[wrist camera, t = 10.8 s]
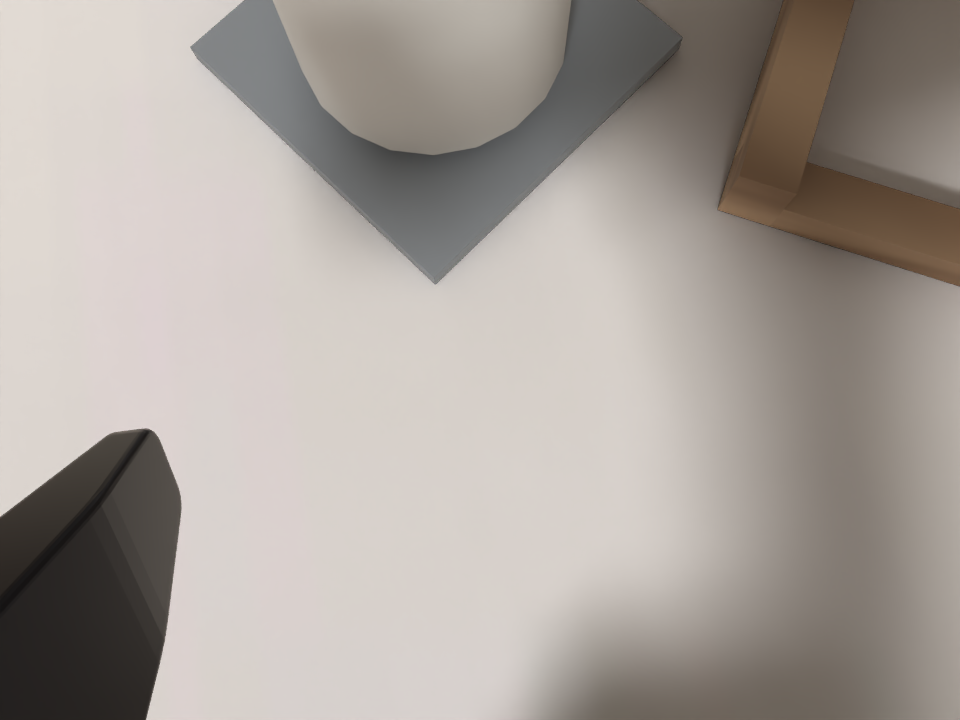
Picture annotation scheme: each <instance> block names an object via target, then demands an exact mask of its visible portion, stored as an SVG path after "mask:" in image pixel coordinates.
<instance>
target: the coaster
mask: <svg viewBox="0 0 960 720" xmlns="http://www.w3.org/2000/svg"><path fill="white" fill-rule="evenodd" d="M682 38H683V37H682V36H680V35H679V34H678V33H677V32H676V31H674V30H673V29H672V28H671V27H669V26H668V25H667V24H666V23H665V22H663V21H662V20H661V19H660V18H659V17H657V16H656V15H655V14H654V13H652V12H651V11H650V10H649V9H648V8H646V7H645V6H644V5H643V4H641V3H640V2H639V1H638V0H571V7H570V14H569V22H568V30H567V38H566V46H565V54H564V61H563V65H562V67H561V69H560V70H559V72H558V74H557V76H556V78H555V80H554V82H553V84H552V86H551V88H550V90H549V92H548V94H547V96H546V98H545V99H544V100H543V101H542V102H541V103H540V104H539V105H538V106H537V107H536V108H535V109H534V110H533V111H532V112H531V113H530V114H529V115H528V116H527V117H526V118H525V119H524V120H523V121H522V122H521V123H520V124H519V125H518V126H517V127H516V128H514V129H512V130H510V131H508V132H506V133H504V134H502V135H500V136H498V137H496V138H494V139H492V140H490V141H488V142H486V143H484V144H482V145H481V146H479V147H476V148H471V149H465V150H459V151H454V152H448V153H443V154H437V155H428V154H419V153H411V152H402V151H393V150H389V149H386V148H384V147H382V146H380V145H377V144H375V143H373V142H370V141H368V140H366V139H364V138H361V137H359V136H357V135H355V134H352V133H351V132H350V131H348V130H347V129H346V128H345V127H344V126H343V125H342V124H341V123H340V122H338V121H337V120H336V119H335V118H334V117H333V116H332V115H331V114H330V113H328V112H327V111H326V110H325V109H324V108H323V107H322V106H321V105H320V103H319V101H318V99H317V97H316V96H315V94H314V92H313V90H312V88H311V86H310V85H309V83H308V81H307V79H306V77H305V75H304V74H303V72H302V69H301V67H300V65H299V62H298V60H297V57H296V55H295V53H294V50H293V48H292V46H291V43H290V41H289V38H288V36H287V34H286V31H285V29H284V26H283V24H282V22H281V19H280V17H279V14H278V12H277V10H276V7H275V5H274V3H273V0H244V1H243V2H242V3H241V4H240V5H238V6H237V7H236V8H235V9H234V10H233V11H231V12H230V13H229V14H228V15H227V16H226V17H225V18H223V19H222V20H221V21H220V22H219V23H218V24H216V25H215V26H214V27H213V28H212V29H211V30H209V31H208V32H207V33H206V34H205V35H204V36H203V37H201V38H200V39H199V40H198V41H197V42H196V43H194V44H193V45H192V46H191V47H190V48H191V49H192V51H193V53H194V54H195V56H196V57H197V59H198V60H199V61H200V62H201V63H202V64H203V65H204V66H205V67H207V68H208V69H209V70H210V71H211V72H212V73H213V74H214V75H215V76H216V77H217V78H218V79H219V80H220V81H221V82H222V83H223V84H224V85H225V86H227V87H228V88H229V89H230V90H231V91H232V92H233V93H234V94H235V95H236V96H237V97H238V98H239V99H240V100H241V101H242V102H243V103H244V104H245V105H247V106H248V107H249V108H250V109H251V110H252V111H253V112H254V113H255V114H256V115H257V116H258V117H259V118H260V119H261V120H262V121H263V122H264V123H266V124H267V125H268V126H269V127H270V128H271V129H272V130H273V131H274V132H275V133H276V134H277V135H278V136H279V137H280V138H281V139H282V140H283V141H284V142H286V143H287V144H288V145H289V146H290V147H291V148H292V149H293V150H294V151H295V152H296V153H297V154H298V155H299V156H300V157H301V158H302V159H303V160H305V161H306V162H307V163H308V164H309V165H310V166H311V167H312V168H313V169H314V170H315V171H316V172H317V173H318V174H319V175H320V176H321V177H322V178H323V179H325V180H326V181H327V182H328V183H329V184H330V185H331V186H332V187H333V188H334V189H335V190H336V191H337V192H338V193H339V194H340V195H341V196H342V197H344V198H345V199H346V200H347V201H348V202H349V203H350V204H351V205H352V206H353V207H354V208H355V209H356V210H357V211H358V212H359V213H360V214H361V215H362V216H364V217H365V218H366V219H367V220H368V221H369V222H370V223H371V224H372V225H373V226H374V227H375V228H376V229H377V230H378V231H379V232H380V233H381V234H383V235H384V236H385V237H386V238H387V239H388V240H389V241H390V242H391V243H392V244H393V245H394V246H395V247H396V248H397V249H398V250H399V251H400V252H401V253H403V254H404V255H405V256H406V257H407V258H408V259H409V260H410V261H411V262H412V263H413V264H414V265H415V266H416V267H417V268H418V269H419V270H420V271H422V272H423V273H424V274H425V275H426V276H427V277H428V278H429V279H430V280H431V281H432V282H433V283H434V284H435V285H436V284H437V283H438V282H439V281H440V280H441V279H442V278H443V277H444V276H445V275H446V274H447V273H448V272H449V271H450V270H451V269H452V268H453V267H454V266H455V265H456V264H457V263H458V262H459V261H460V260H461V259H463V258H464V257H465V256H466V255H467V254H468V253H469V252H470V251H471V250H472V249H473V248H474V247H475V246H476V245H477V244H478V243H479V242H480V241H481V240H482V239H483V238H484V237H485V236H486V235H487V234H488V233H489V232H490V231H491V230H492V229H494V228H495V227H496V226H497V225H498V224H499V223H500V222H501V221H502V220H503V219H504V218H505V217H506V216H507V215H508V214H509V213H510V212H511V211H512V210H513V209H514V208H515V207H516V206H517V205H518V204H519V203H520V202H521V201H522V200H523V199H525V198H526V197H527V196H528V195H529V194H530V193H531V192H532V191H533V190H534V189H535V188H536V187H537V186H538V185H539V184H540V183H541V182H542V181H543V180H544V179H545V178H546V177H547V176H548V175H549V174H550V173H551V172H552V171H553V170H554V169H556V168H557V167H558V166H559V165H560V164H561V163H562V162H563V161H564V160H565V159H566V158H567V157H568V156H569V155H570V154H571V153H572V152H573V151H574V150H575V149H576V148H577V147H578V146H579V145H580V144H581V143H582V142H583V141H584V140H585V139H587V138H588V137H589V136H590V135H591V134H592V133H593V132H594V131H595V130H596V129H597V128H598V127H599V126H600V125H601V124H602V123H603V122H604V121H605V120H606V119H607V118H608V117H609V116H610V115H611V114H612V113H613V112H614V111H615V110H616V109H618V108H619V107H620V106H621V105H622V104H623V103H624V102H625V101H626V100H627V99H628V98H629V97H630V96H631V95H632V94H633V93H634V92H635V91H636V90H637V89H638V88H639V87H640V86H641V85H642V84H643V83H644V82H645V81H646V80H647V79H649V78H650V77H651V76H652V75H653V74H654V73H655V72H656V71H657V70H658V69H659V68H660V67H661V66H662V65H663V64H664V63H665V62H666V61H667V60H668V59H669V58H670V57H671V56H672V55H673V54H674V53H675V52H676V51H677V50H678V49H679V47H680V44H681V41H682Z"/></svg>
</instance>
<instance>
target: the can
mask: <svg viewBox="0 0 960 720" xmlns="http://www.w3.org/2000/svg"><path fill="white" fill-rule="evenodd" d="M273 3H274V5H275V7H276V10H277V12H278V14H279V17H280V19H281V22H282V24H283V26H284V29H285V31H286V34H287V36H288V38H289V41H290V43H291V46H292V48H293V50H294V53H295V55H296V57H297V60H298V62H299V65H300V67H301V69H302V72H303V74H304V75H305V77H306V79H307V81H308V83H309V85H310V86H311V88H312V90H313V92H314V94H315V96H316V97H317V99H318V101H319V103H320V105H321V106H322V107H323V108H324V109H325V110H326V111H327V112H328V113H330V114H331V115H332V116H333V117H334V118H335V119H336V120H337V121H338V122H340V123H341V124H342V125H343V126H344V127H345V128H346V129H347V130H348V131H350V132H351V133H352V134H355V135H357V136H359V137H361V138H364V139H366V140H368V141H370V142H373V143H375V144H377V145H380V146H382V147H384V148H386V149H389V150H393V151H402V152H411V153H419V154H428V155H437V154H443V153H448V152H454V151H459V150H465V149H471V148H476V147H479V146H481V145H482V144H484V143H486V142H488V141H490V140H492V139H494V138H496V137H498V136H500V135H502V134H504V133H506V132H508V131H510V130H512V129H514V128H516V127H517V126H518V125H519V124H520V123H521V122H522V121H523V120H524V119H525V118H526V117H527V116H528V115H529V114H530V113H531V112H532V111H533V110H534V109H535V108H536V107H537V106H538V105H539V104H540V103H541V102H542V101H543V100H544V99H545V98H546V96H547V94H548V92H549V90H550V88H551V86H552V84H553V82H554V80H555V78H556V76H557V74H558V72H559V70H560V69H561V67H562V65H563V61H564V54H565V46H566V38H567V30H568V22H569V14H570V7H571V0H273Z"/></svg>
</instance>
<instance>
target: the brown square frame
mask: <svg viewBox="0 0 960 720" xmlns="http://www.w3.org/2000/svg"><path fill="white" fill-rule="evenodd" d="M853 3H854V0H784V1H783V4H782V7H781V10H780V13H779V17H778V20H777V23H776V26H775V29H774V32H773V36H772V39H771V42H770V45H769V48H768V51H767V55H766V58H765V61H764V64H763V67H762V70H761V74H760V77H759V80H758V83H757V86H756V89H755V93H754V96H753V99H752V102H751V105H750V108H749V112H748V115H747V118H746V121H745V124H744V127H743V131H742V134H741V137H740V140H739V143H738V146H737V149H736V153H735V156H734V159H733V162H732V165H731V168H730V172H729V175H728V178H727V181H726V184H725V187H724V191H723V194H722V197H721V200H720V203H719V206H718V210H720V211H723V212H726V213H729V214H732V215H736V216H739V217H742V218H745V219H748V220H751V221H754V222H758V223H761V224H764V225H767V226H770V227H773V228H777V229H780V230H783V231H786V232H789V233H792V234H796V235H799V236H802V237H805V238H808V239H811V240H815V241H818V242H821V243H824V244H827V245H830V246H834V247H837V248H840V249H843V250H846V251H849V252H853V253H856V254H859V255H862V256H865V257H868V258H872V259H875V260H878V261H881V262H884V263H887V264H890V265H894V266H897V267H900V268H903V269H906V270H909V271H913V272H916V273H919V274H922V275H925V276H928V277H932V278H935V279H938V280H941V281H944V282H947V283H951V284H954V285H957V286H960V209H958V208H954V207H951V206H948V205H945V204H941V203H938V202H935V201H932V200H928V199H925V198H922V197H919V196H915V195H912V194H909V193H906V192H902V191H899V190H896V189H893V188H889V187H886V186H883V185H880V184H876V183H873V182H870V181H867V180H863V179H860V178H857V177H854V176H850V175H847V174H844V173H841V172H837V171H834V170H831V169H828V168H824V167H821V166H818V165H815V164H811V163H808V162H807V158H808V155H809V152H810V148H811V145H812V142H813V138H814V135H815V132H816V128H817V125H818V121H819V118H820V115H821V111H822V108H823V105H824V101H825V98H826V94H827V91H828V88H829V84H830V81H831V78H832V74H833V71H834V67H835V64H836V61H837V57H838V54H839V51H840V47H841V44H842V40H843V37H844V34H845V30H846V27H847V24H848V20H849V17H850V14H851V10H852V7H853Z"/></svg>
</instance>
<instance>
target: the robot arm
mask: <svg viewBox="0 0 960 720" xmlns="http://www.w3.org/2000/svg"><path fill="white" fill-rule="evenodd" d="M180 517H181V496H180V491H179V488H178V485H177V483H176V480H175V478H174V475H173V472H172V470H171V467H170V465H169V462H168V460H167V457H166V455H165V452H164V450H163V447H162V445H161V442H160V440H159V438H158V436H157V435H156V434H155V432H153V431H152V430H150V429H146V428H145V429H136V430H129V431H121V432H114V433H111V434H109V435H107V436H106V437H105V438H103V439H102V440H101V441H99V442H98V443H97V444H95V445H94V446H93V447H91V448H90V449H89V450H88V451H86V452H85V453H84V454H82V455H81V456H80V457H78V458H77V459H76V460H74V461H73V462H72V463H70V464H69V465H68V466H67V467H65V468H64V469H63V470H61V471H60V472H59V473H57V474H56V475H55V476H53V477H52V478H51V479H49V480H48V481H47V482H45V483H44V484H43V485H42V486H40V487H39V488H38V489H36V490H35V491H34V492H32V493H31V494H30V495H28V496H27V497H26V498H24V499H23V500H22V501H20V502H19V503H18V504H17V505H15V506H14V507H13V508H11V509H10V510H9V511H7V512H6V513H5V514H3V515H2V516H1V517H0V720H146V717H147V713H148V709H149V705H150V701H151V697H152V693H153V689H154V685H155V681H156V677H157V673H158V669H159V665H160V660H161V656H162V651H163V646H164V642H165V636H166V629H167V623H168V615H169V607H170V599H171V591H172V583H173V574H174V566H175V558H176V550H177V542H178V534H179V526H180Z"/></svg>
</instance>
